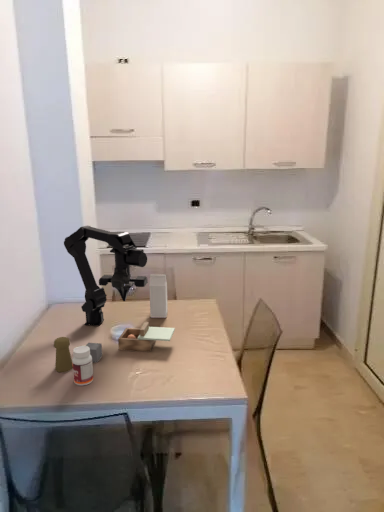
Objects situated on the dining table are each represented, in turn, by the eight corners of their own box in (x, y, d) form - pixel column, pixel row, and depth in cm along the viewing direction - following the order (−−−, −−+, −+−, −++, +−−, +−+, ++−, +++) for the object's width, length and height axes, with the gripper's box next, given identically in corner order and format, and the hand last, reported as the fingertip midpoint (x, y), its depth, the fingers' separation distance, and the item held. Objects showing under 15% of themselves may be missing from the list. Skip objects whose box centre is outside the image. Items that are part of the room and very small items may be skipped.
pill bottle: (70, 380, 134) (68, 348, 131) (88, 373, 137) (86, 342, 134) (79, 388, 129) (76, 355, 126) (96, 381, 133) (94, 349, 130)
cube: (83, 361, 145) (82, 349, 144) (89, 355, 150) (88, 342, 149) (97, 362, 145) (96, 349, 143) (102, 355, 149) (101, 343, 148)
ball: (126, 344, 156) (125, 336, 156) (128, 340, 159) (128, 332, 159) (134, 344, 156) (134, 336, 155) (136, 340, 159) (136, 333, 158)
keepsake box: (118, 349, 154) (118, 338, 152) (126, 338, 163) (126, 327, 162) (150, 351, 152) (149, 340, 151) (156, 339, 161) (155, 329, 160)
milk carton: (166, 317, 182) (165, 277, 178) (150, 317, 183) (148, 277, 178) (167, 311, 189) (166, 272, 185) (152, 311, 189) (150, 272, 185)
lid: (137, 339, 151) (137, 331, 150) (144, 328, 161) (144, 320, 160) (169, 341, 150) (169, 333, 149) (174, 329, 159) (174, 322, 158)
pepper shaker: (77, 365, 143) (74, 336, 140) (65, 374, 137) (62, 343, 135) (63, 362, 145) (60, 333, 142) (51, 370, 140) (48, 340, 137)
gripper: (92, 268, 157) (95, 307, 161) (139, 270, 154) (141, 309, 158) (102, 261, 167) (105, 297, 171) (147, 262, 165) (148, 299, 168)
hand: (124, 300), depth 167 cm, fingers closed
